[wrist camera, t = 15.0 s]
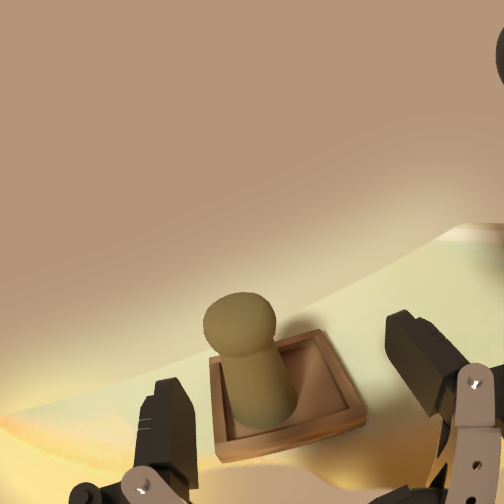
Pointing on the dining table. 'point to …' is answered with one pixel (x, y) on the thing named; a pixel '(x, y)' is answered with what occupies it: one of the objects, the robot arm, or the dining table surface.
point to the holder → (306, 412)
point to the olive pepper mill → (250, 359)
